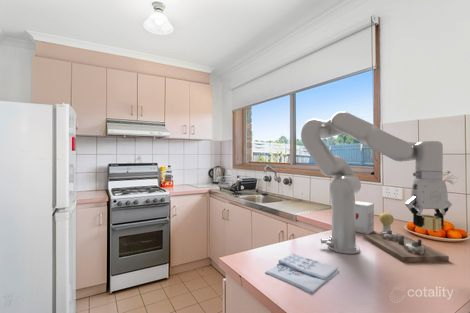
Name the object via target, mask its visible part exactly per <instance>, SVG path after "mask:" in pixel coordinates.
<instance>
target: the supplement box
mask: <svg viewBox="0 0 470 313" xmlns="http://www.w3.org/2000/svg"><path fill="white" fill-rule="evenodd" d="M355 207H356V233H361V234H363V235H364V234H372V233H373V231H375V230H374V229H375V228H374V227H375V220H374V218H375V215H374V214H375V203H371V202H366V201H358V200H355Z"/></svg>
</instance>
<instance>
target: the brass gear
mask: <svg viewBox="0 0 470 313" xmlns="http://www.w3.org/2000/svg"><path fill="white" fill-rule="evenodd" d="M421 216H422V227H418V226H417V228H418V229H423V230H426V231H434V232H438V231H442V227H441V218H439V217H438V216H434V215H432V214H423V213H421Z"/></svg>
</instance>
